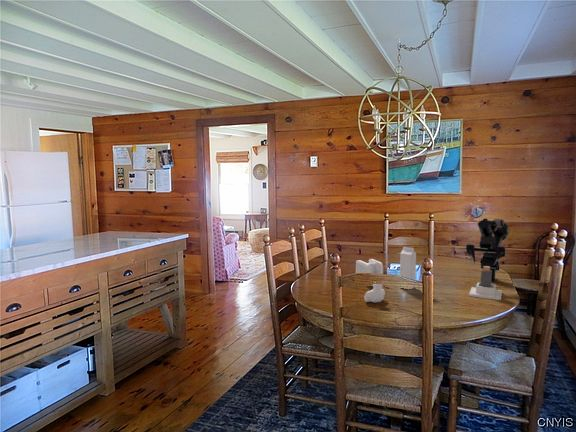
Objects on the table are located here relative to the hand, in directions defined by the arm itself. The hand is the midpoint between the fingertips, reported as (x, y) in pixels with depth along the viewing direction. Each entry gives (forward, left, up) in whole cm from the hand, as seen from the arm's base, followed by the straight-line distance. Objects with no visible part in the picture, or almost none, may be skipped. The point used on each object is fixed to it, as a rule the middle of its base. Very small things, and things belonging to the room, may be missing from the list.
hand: (484, 263), depth 213 cm
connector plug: (+9, +5, -12) cm, 16 cm away
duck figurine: (+60, -23, -14) cm, 65 cm away
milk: (+29, -27, -14) cm, 41 cm away
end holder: (+9, +5, -14) cm, 17 cm away
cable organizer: (+34, -49, -14) cm, 61 cm away
